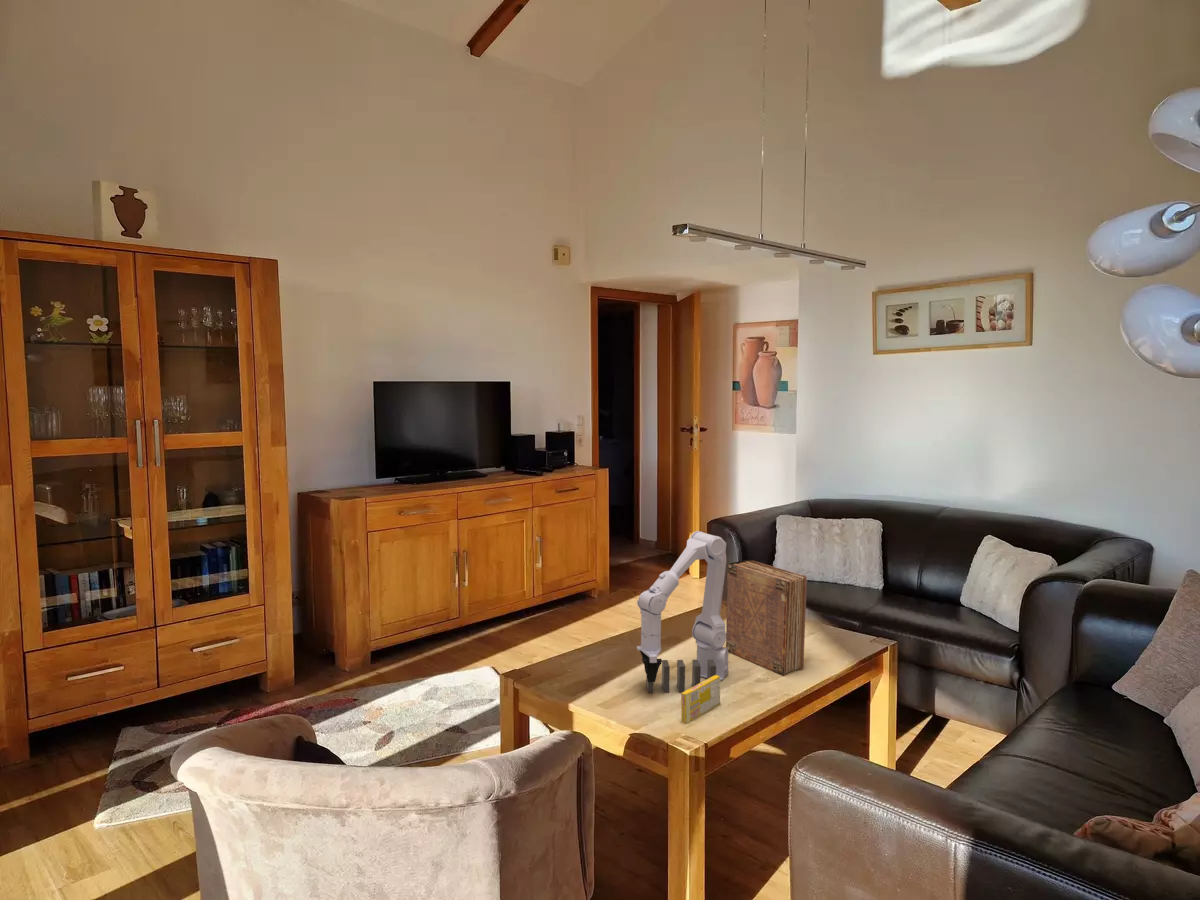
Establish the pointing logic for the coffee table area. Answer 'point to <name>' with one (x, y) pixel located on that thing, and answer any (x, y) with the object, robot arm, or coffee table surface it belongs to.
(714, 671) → the domino
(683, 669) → the domino
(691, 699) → the candy box
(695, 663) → the domino
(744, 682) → the coffee table surface
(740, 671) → the coffee table surface
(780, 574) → the book
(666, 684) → the domino
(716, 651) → the robot arm
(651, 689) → the domino
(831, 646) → the coffee table surface
